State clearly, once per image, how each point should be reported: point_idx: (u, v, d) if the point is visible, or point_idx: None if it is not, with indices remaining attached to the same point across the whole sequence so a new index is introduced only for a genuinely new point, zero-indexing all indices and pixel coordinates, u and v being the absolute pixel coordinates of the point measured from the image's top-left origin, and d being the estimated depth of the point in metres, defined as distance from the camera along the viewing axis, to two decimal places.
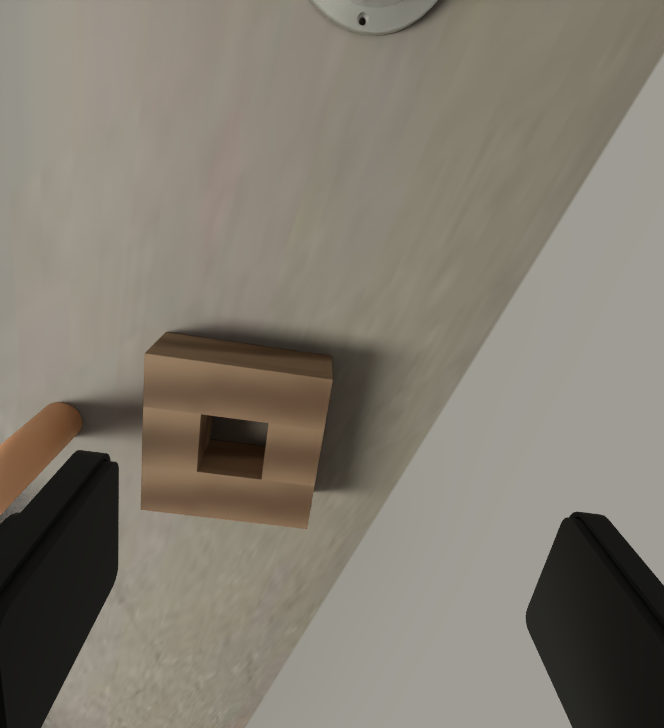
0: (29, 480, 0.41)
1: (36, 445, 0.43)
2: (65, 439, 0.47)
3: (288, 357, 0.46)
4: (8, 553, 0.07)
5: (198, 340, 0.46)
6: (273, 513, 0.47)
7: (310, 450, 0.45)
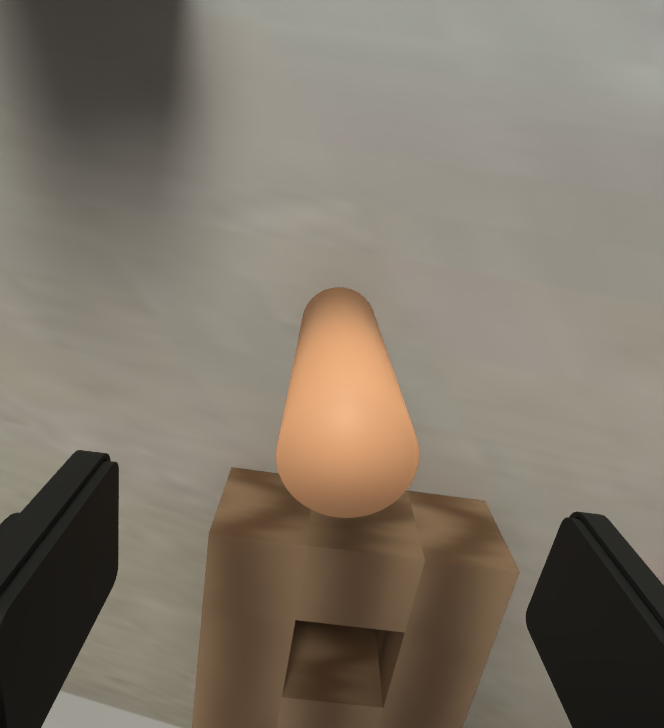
0: None
1: None
2: None
3: None
4: (8, 553, 0.07)
5: None
6: (217, 708, 0.29)
7: None
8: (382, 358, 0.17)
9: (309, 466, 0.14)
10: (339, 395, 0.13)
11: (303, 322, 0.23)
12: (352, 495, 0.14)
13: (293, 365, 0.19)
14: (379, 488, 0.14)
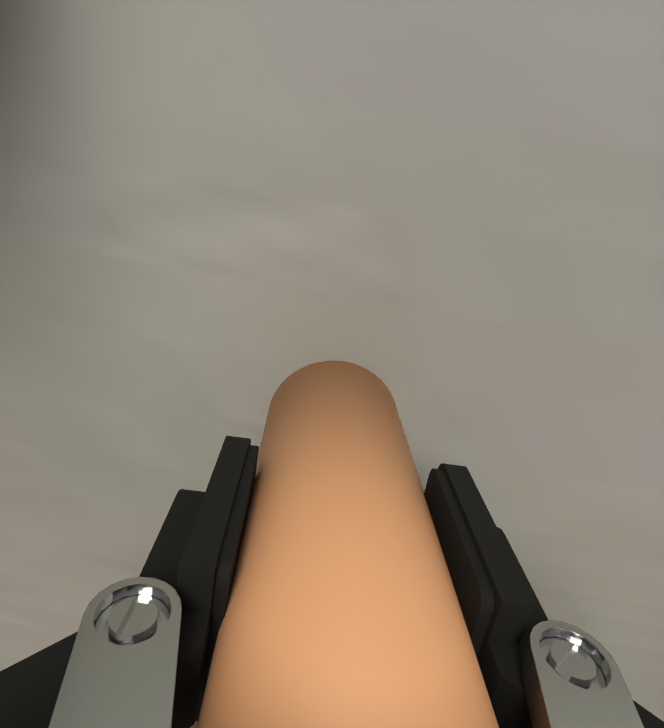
0: None
1: None
2: None
3: None
4: (215, 517, 0.08)
5: None
6: None
7: None
8: (468, 703, 0.06)
9: None
10: None
11: (262, 448, 0.12)
12: None
13: (216, 643, 0.07)
14: None
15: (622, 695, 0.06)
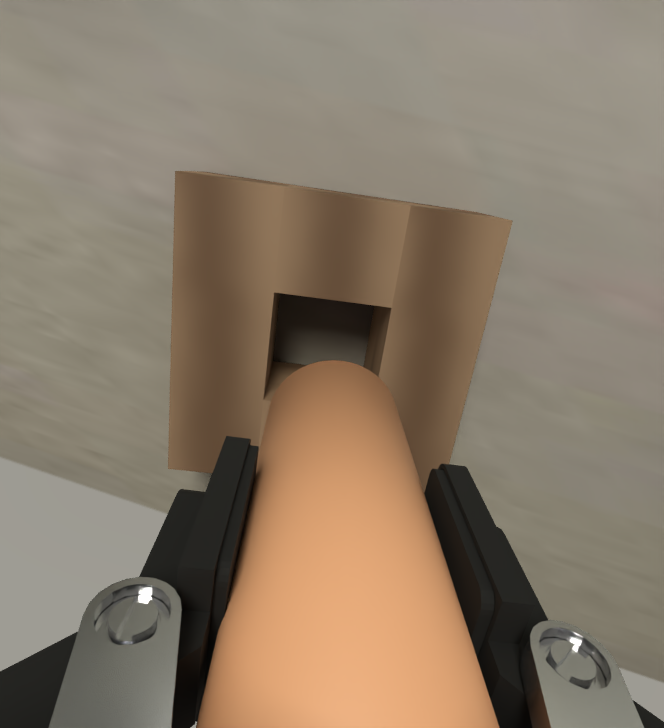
0: None
1: None
2: None
3: None
4: (215, 517, 0.08)
5: None
6: (194, 417, 0.27)
7: None
8: (468, 703, 0.06)
9: None
10: None
11: (262, 447, 0.12)
12: None
13: (215, 642, 0.07)
14: None
15: (622, 695, 0.06)
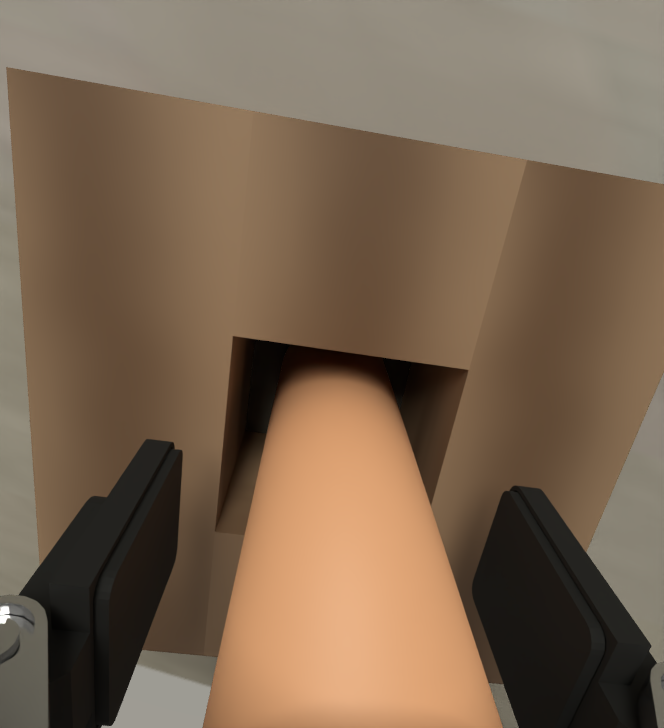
0: None
1: None
2: None
3: None
4: (107, 528, 0.07)
5: None
6: None
7: None
8: (413, 495, 0.09)
9: None
10: (333, 704, 0.05)
11: (279, 384, 0.16)
12: None
13: (255, 486, 0.11)
14: None
15: None
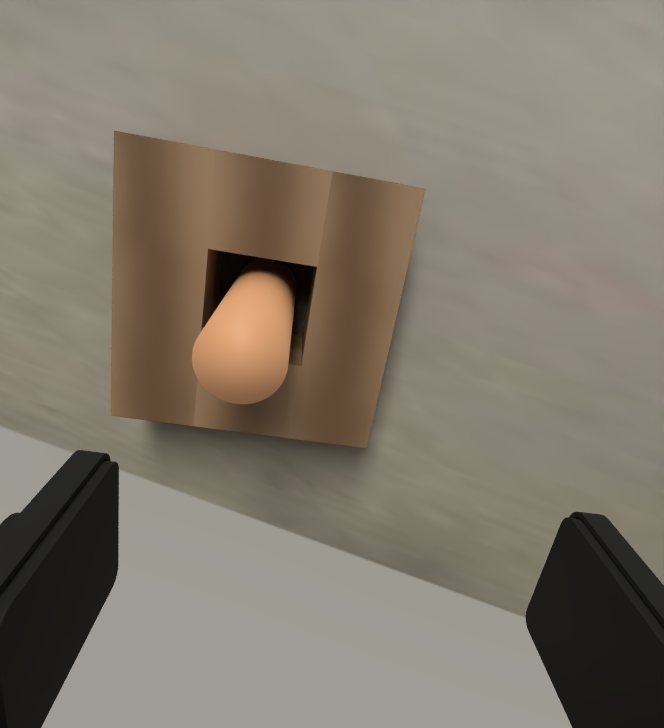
0: None
1: None
2: None
3: None
4: (8, 553, 0.07)
5: None
6: (135, 366, 0.29)
7: (256, 421, 0.30)
8: (277, 302, 0.24)
9: (214, 366, 0.21)
10: (231, 316, 0.20)
11: None
12: (245, 387, 0.21)
13: None
14: (263, 382, 0.21)
15: None
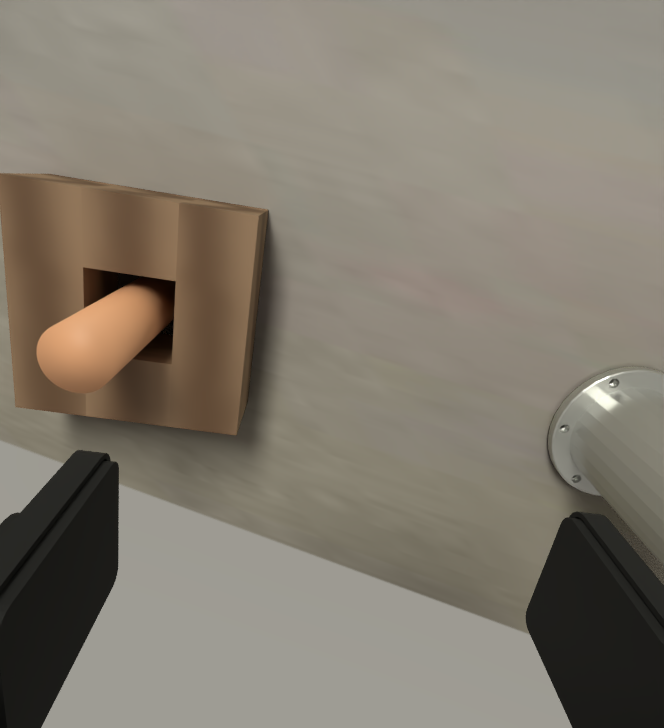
0: None
1: None
2: None
3: (248, 366, 0.39)
4: (8, 553, 0.07)
5: (262, 255, 0.37)
6: (32, 365, 0.34)
7: (138, 411, 0.36)
8: (127, 311, 0.29)
9: (55, 363, 0.26)
10: (63, 323, 0.25)
11: None
12: (82, 379, 0.26)
13: None
14: (96, 375, 0.26)
15: None
